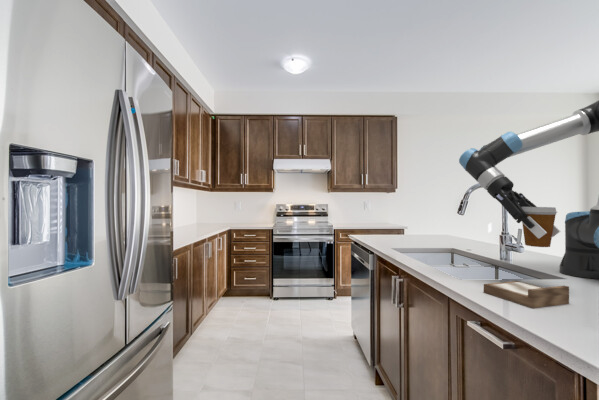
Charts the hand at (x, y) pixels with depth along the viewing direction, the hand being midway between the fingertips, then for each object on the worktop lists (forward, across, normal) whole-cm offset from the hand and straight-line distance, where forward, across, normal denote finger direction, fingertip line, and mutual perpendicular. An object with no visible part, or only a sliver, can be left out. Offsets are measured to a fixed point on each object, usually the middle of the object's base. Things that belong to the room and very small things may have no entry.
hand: (549, 234), depth 99 cm
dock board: (+12, +14, -12) cm, 22 cm away
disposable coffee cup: (+1, 0, -5) cm, 5 cm away
